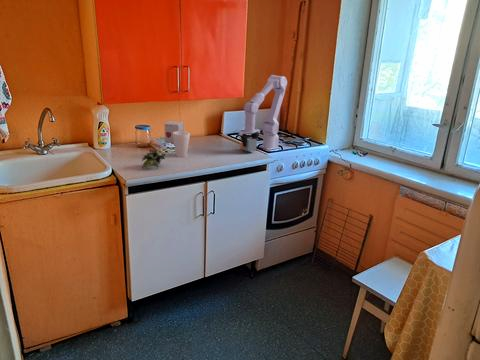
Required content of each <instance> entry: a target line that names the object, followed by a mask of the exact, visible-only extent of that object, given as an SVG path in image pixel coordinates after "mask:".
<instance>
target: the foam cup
mask: <svg viewBox="0 0 480 360" xmlns="http://www.w3.org/2000/svg"><path fill="white" fill-rule="evenodd" d="M190 135H191V132H189V131H187V130H184V131H175V132H173V139H174V146H175V149H174V152H175V156H176V157H178V158H185V157H187V156H188V151H189V143H190V137H191V136H190Z"/></svg>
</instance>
